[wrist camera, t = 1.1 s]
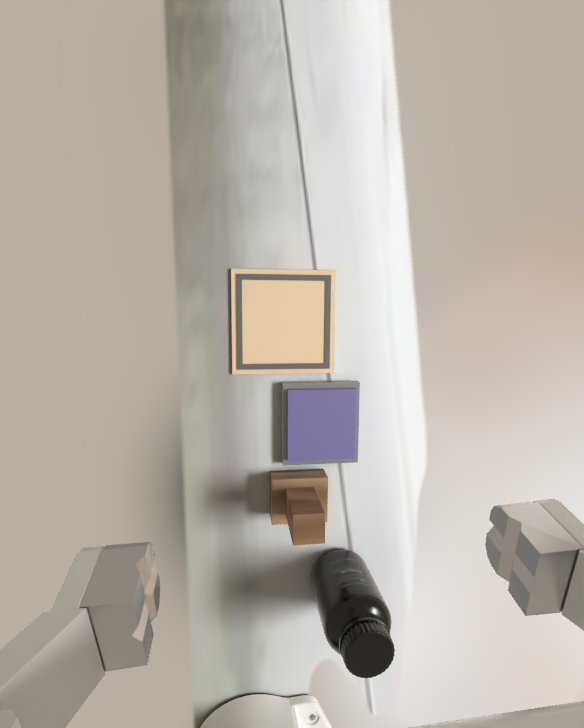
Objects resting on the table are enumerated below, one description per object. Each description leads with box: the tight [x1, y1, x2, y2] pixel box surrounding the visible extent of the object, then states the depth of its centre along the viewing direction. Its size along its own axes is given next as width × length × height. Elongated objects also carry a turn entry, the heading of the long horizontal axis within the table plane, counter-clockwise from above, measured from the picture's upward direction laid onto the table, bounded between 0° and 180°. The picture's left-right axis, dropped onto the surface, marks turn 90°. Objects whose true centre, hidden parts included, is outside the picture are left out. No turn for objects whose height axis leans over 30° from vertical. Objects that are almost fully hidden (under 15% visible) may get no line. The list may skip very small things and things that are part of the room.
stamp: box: [270, 469, 328, 545], centre depth 45 cm, size 5×6×9 cm
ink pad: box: [282, 381, 360, 465], centre depth 47 cm, size 9×8×2 cm
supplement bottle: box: [311, 549, 395, 678], centre depth 45 cm, size 7×7×12 cm
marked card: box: [231, 269, 336, 374], centre depth 46 cm, size 11×11×1 cm
